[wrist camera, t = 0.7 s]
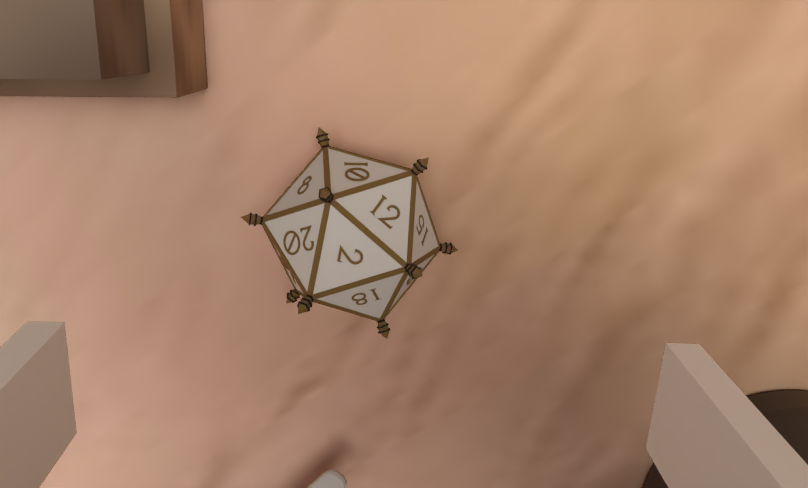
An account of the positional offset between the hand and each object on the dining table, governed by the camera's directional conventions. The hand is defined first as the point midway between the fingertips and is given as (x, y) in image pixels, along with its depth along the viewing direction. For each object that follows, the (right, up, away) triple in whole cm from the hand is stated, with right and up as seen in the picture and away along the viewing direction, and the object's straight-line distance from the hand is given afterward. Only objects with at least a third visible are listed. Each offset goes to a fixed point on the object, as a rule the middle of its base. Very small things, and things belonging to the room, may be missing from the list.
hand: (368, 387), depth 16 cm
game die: (-1, +5, +20) cm, 21 cm away
